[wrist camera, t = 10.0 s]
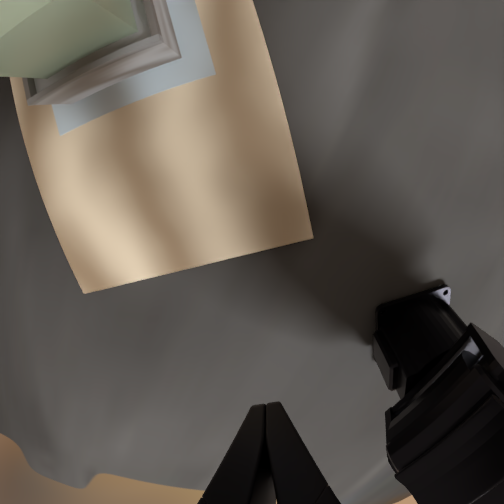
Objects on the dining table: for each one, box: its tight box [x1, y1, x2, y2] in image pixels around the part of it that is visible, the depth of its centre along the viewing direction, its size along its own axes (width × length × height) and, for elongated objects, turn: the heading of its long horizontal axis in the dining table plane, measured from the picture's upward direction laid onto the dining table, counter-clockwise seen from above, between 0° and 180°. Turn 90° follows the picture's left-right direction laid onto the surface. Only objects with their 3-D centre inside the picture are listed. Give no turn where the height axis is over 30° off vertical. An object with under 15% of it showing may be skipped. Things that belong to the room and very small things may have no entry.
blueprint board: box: [10, 0, 313, 294], centre depth 14 cm, size 16×20×6 cm
